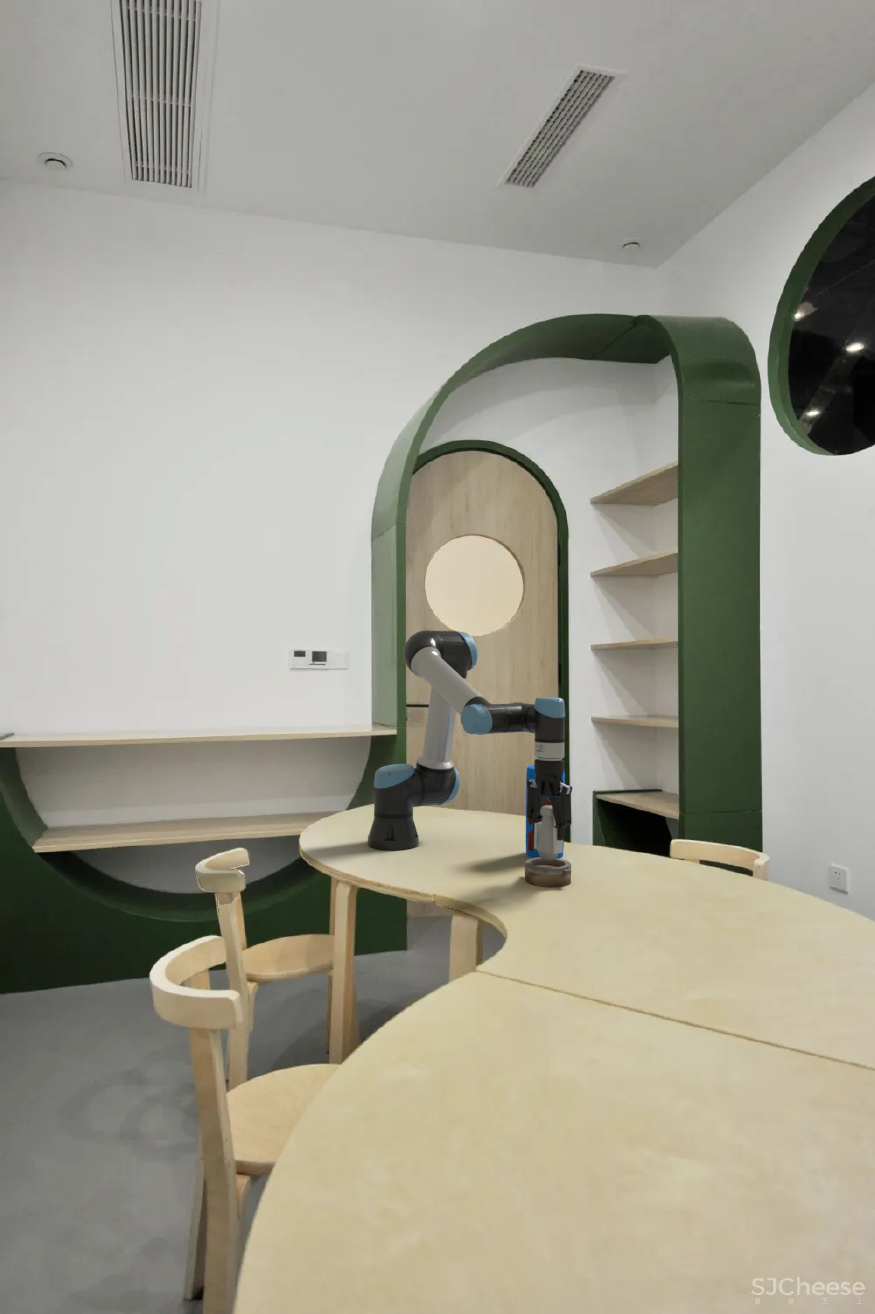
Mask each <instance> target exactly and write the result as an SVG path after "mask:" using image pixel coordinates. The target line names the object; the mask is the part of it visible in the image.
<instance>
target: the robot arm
mask: <svg viewBox="0 0 875 1314" xmlns="http://www.w3.org/2000/svg"><path fill="white" fill-rule="evenodd" d="M478 655H479V654H478V648H477V644H476V642H475V640H474V639H473V637H472V636H471V635H470V634H469V633H467V632H465V631H459V630H458V631H457V630H430V629H429V630H426V629H424V630H420V631H418V632H415V633H413V634H412V635H411V636H409V638H408V639H407V641H406V642H405V645H404V646H403V656H402V657H403V659H404V663H405V666H406V667H407V668H408V669H409V671H411V673H412V674H413V675H414V676H415V677H418V678H423V679H424V681H426V682H427V683H428V685H430V687H431V689H430V695H429V703H428V708H427V718H426V725H425V726H426V727H425V734H424V740H423V749H422V755H420V756H419V757H417V759H416V764H415V767H414V765H412V764H410V763H395V764H389V765H385V766H382V767H380V768H378V769H377V770H376V771H375V773H374V782H373V786H374V787H373V793H374V795H373V798H374V800H373V801H374V802H373V820H372V822H371V823H372V824H371V827H370V830H369V833H368V836H367V845H368V846H369V847H371V848H374V849H378V850H386V851H387V850H388V851H389V850H390V851H391V850H392V851H399V850H409V849H413V848H415V847H418V846H419V842H420V841H419V840H420V839H419V834H418V831H417V827H416V825H415V821H414V808H418V807H419V808H420V807H428V806H440V805H443V804H448V803H452V801H453V800H454V799H455V798H456V797H457V795H458V793H459V790H460V786H461V784H460V783H461V779H460V777H459V776H460V774H459V771H458V770H457V768H456V767H455V763H454V761H453V760H452V759H451V755H452V747H453V741H454V733H455V727H456V726H455V725H456V718H457V713H458V714H459V715H460V724H461V725H462V729H463V730H464V732H465V733H467V734H469V735H479V736H482V735H483V736H484V735H493V734H508V733H509V734H512V733H513V734H514V733H529V734H534V757H535V759H534V772H535V774H536V777H535V779H534V780H527V787H528V799H527V818H528V819H531V820H532V822H533V834H534V849H537V843H538V838H539V833H540V829H541V824H542V822H540V821H542V815H541V814H540V809H541V807H542V806H545V804H546V799H547V797H548V796H549V800H550V801H551V804H552V809H553V814H554V819H555V824H556V826H554V827H553V853H554V854H557V853H562V852H563V853H564V849H563V840H564V841H565V832H566V831H565V829H566V827H568V826H571V825H572V791H573V785H567V784H564V782H563V779H562V776H563V774H564V771H565V761H564V758H565V732H566V731H565V728H566V723H565V722H566V718H565V717H566V710H565V709H566V707H565V701H564V699H563V697H562V698H561V697H552V696H551V697H548V696H547V697H546V696H544V697H541V696H540V697H539V696H538V697H537V698H535V701H534V703H524V702H520V701H519V702H509V703H491V702H489V700H487V699H486V698H485V697H484V696H483V695H482V694H481V693H479V691H477V690H476V688H474V686H472V685H471V684H470V683H469V682H468V681H466V679H467V677H468V672H469V671H471V670H472V669H474V667H475V666H476V665H477V662H478V657H479V656H478ZM556 795H557V796H556ZM554 796H555V797H554ZM531 812H532V813H531ZM560 821H561V822H560Z"/></svg>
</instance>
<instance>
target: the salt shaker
mask: <svg viewBox="0 0 875 1314" xmlns="http://www.w3.org/2000/svg"><path fill="white" fill-rule="evenodd" d="M540 814H541V815H542V816H543V819H542V824H541V829H540V833H539V838H538V843H537V851H538V853H539V856H540V858H542V859H546V860H553V859H556V858H557V856H558V853H557V854H554V853H553V827H554V826H556V824H555V819H554V814H553V809H552V806H549V805H547V806H542V807H541V809H540Z"/></svg>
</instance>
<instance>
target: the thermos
mask: <svg viewBox="0 0 875 1314" xmlns="http://www.w3.org/2000/svg"><path fill="white" fill-rule="evenodd" d="M525 773H526V777H525V778H526V779H525V782H526V785H525V789H526V791H525V794H526V795H525V852H526V853H525V855H526V856H527V857H528V858H530V859H532V858H540V856H539V853H538V851H537V849H534V834H533V822H532V820H531V819H528V818H527V799H528V787H527V780H534V779H535V777H536V774H535V772H534V765H528V766H527V767H526V772H525ZM565 778H566V773H565V770H564V774H563V776H562V779H563V782H564V784H565V783H566V782H565V781H566V779H565ZM556 796H557V795H556ZM554 797H555V796H554ZM547 805H549V806H552V804H551V801H550V800H549V796H548V797H547V799H546V804H545V806H547ZM531 813H532V812H531ZM542 819H543V816H542ZM540 822H542V821H540ZM560 822H561V821H560ZM564 844H565V839H564V840H563V850H564V847H565V845H564ZM563 857H564V851H563V852H562V853H558V856H557V858H559V859H562V858H563Z"/></svg>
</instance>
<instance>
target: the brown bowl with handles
mask: <svg viewBox="0 0 875 1314" xmlns="http://www.w3.org/2000/svg"><path fill="white" fill-rule="evenodd" d="M524 881H525V883H527V884H529V885H532V886H534V887H535V886H537V887H541V888H561V887H566V886H569V885H570V884H571V883H572V863H571V862H570V861H569V860H565V859H562V858H556V859H553V860H546V859H542V858H528V859H526V860H525V861H524Z"/></svg>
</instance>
